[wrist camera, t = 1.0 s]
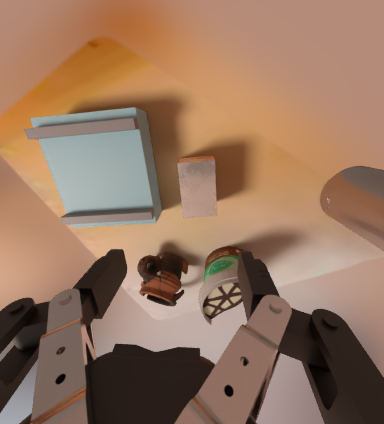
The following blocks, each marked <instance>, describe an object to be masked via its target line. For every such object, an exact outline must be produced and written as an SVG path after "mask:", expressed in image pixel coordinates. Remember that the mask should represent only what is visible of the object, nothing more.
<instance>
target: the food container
mask: <svg viewBox="0 0 384 424" xmlns="http://www.w3.org/2000/svg"><path fill="white" fill-rule="evenodd" d="M239 251H243V250H240V249H238V248H235V247H223V248H219V249H217V250H215V251H213V252H212V253H211V254H210V255H209V256H208V258H207V260H206V264H205V275H204V284H203V285H202V287H201V289H200V292H199V304H200V308H201V311H202V313H203V316H204V318H205V319H206V321H207V322H208V323H209V324H210V325H211V319H212V318H214V317H215V316H217V315H218V314H220V313H222V312H223V311H226V310H228V309H231V308H233V307H235V306H237V305H238V304H239V303H241V302H242V301H243V299H242V295H241V291H240V286H239V282H238V276H237V268H238V257H239Z"/></svg>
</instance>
